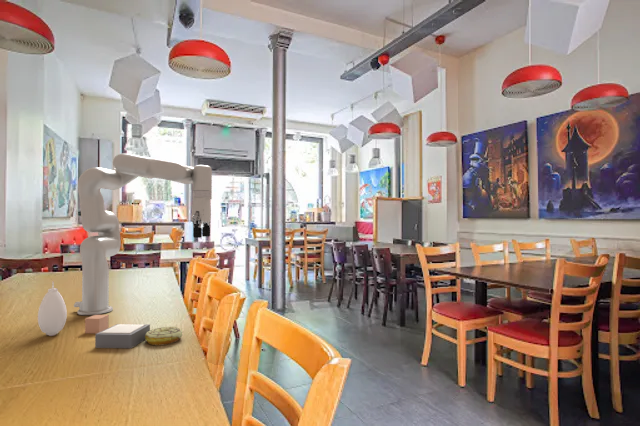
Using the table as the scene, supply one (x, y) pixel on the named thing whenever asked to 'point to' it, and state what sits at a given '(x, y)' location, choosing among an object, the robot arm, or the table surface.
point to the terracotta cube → (96, 323)
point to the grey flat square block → (121, 336)
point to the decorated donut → (163, 335)
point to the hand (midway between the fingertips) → (201, 236)
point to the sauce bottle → (52, 312)
